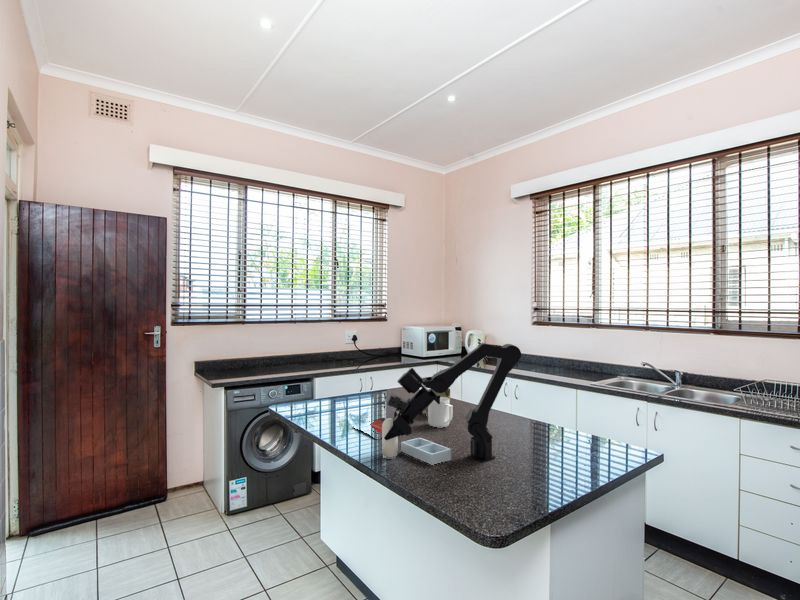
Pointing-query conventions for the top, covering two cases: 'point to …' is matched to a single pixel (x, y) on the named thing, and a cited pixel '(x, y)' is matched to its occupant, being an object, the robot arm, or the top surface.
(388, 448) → the cream rounded cylinder
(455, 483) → the top surface
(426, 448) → the divided tray
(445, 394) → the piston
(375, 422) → the binder
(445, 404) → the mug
